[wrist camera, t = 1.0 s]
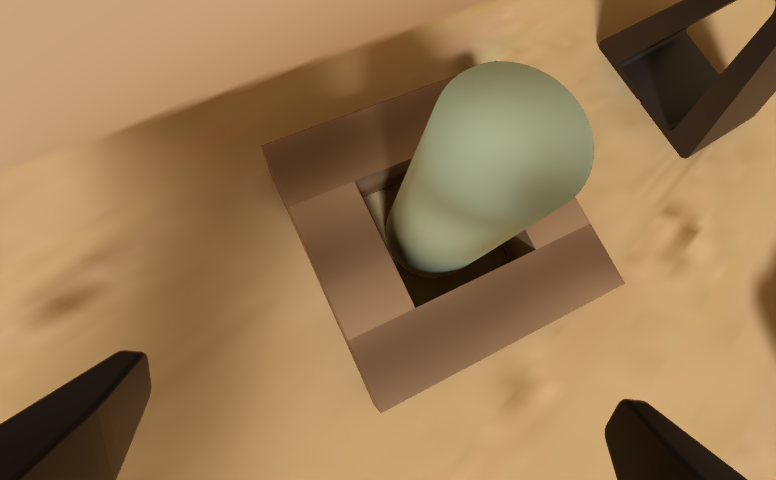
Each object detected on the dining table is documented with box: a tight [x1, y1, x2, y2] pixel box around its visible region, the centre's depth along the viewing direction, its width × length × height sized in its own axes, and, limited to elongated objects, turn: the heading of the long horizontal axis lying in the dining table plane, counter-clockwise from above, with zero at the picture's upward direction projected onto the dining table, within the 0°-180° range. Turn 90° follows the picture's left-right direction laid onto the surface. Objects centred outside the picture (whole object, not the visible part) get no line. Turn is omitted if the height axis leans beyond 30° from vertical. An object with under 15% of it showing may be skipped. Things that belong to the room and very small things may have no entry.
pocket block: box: [261, 61, 624, 413], centre depth 22 cm, size 13×13×3 cm
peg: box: [385, 62, 594, 278], centre depth 18 cm, size 5×5×11 cm
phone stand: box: [599, 0, 776, 158], centre depth 22 cm, size 9×6×12 cm, turn 31°
